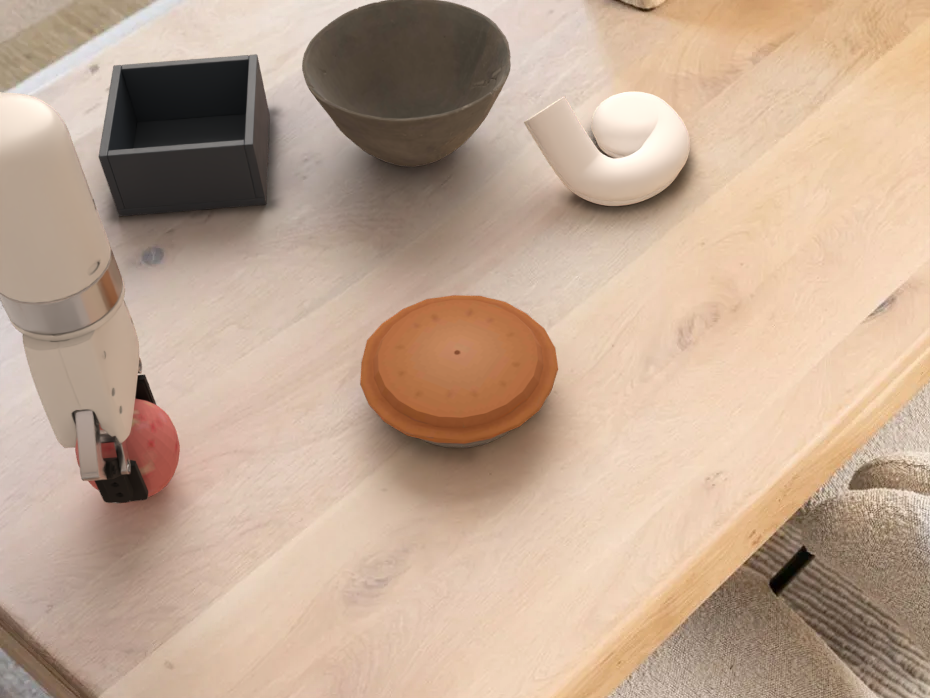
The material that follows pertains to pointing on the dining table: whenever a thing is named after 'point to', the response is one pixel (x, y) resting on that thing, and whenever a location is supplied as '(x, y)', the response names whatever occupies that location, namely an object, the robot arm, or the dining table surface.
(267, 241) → the dining table surface
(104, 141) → the bin
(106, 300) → the robot arm
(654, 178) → the sculpture
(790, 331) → the dining table surface
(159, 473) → the apple
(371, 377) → the pie
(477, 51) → the bowl
